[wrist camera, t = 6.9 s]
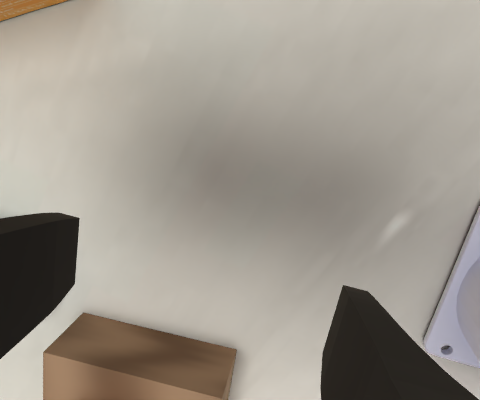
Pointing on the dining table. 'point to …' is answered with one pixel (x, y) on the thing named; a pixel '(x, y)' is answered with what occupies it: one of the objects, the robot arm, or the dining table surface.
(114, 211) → the dining table surface
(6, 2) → the small box
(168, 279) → the dining table surface
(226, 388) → the walnut block
